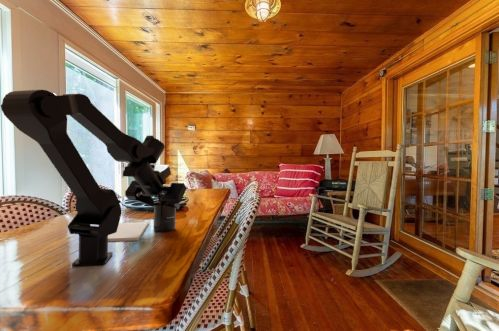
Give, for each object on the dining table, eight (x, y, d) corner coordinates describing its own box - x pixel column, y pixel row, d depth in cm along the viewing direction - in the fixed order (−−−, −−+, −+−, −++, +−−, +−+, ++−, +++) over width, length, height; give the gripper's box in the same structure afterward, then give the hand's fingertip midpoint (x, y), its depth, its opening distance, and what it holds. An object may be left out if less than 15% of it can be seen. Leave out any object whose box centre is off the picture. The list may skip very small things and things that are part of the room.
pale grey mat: (138, 240, 76) (138, 237, 76) (91, 241, 73) (91, 239, 73) (148, 224, 93) (148, 222, 93) (111, 225, 91) (111, 223, 91)
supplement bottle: (171, 232, 84) (172, 194, 84) (150, 231, 84) (150, 194, 84) (177, 227, 91) (178, 191, 91) (158, 226, 91) (158, 191, 91)
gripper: (184, 156, 80) (200, 189, 91) (131, 155, 85) (152, 186, 96) (168, 185, 73) (188, 217, 84) (112, 182, 78) (137, 212, 89)
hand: (166, 206), depth 88 cm, fingers open, 9 cm apart
